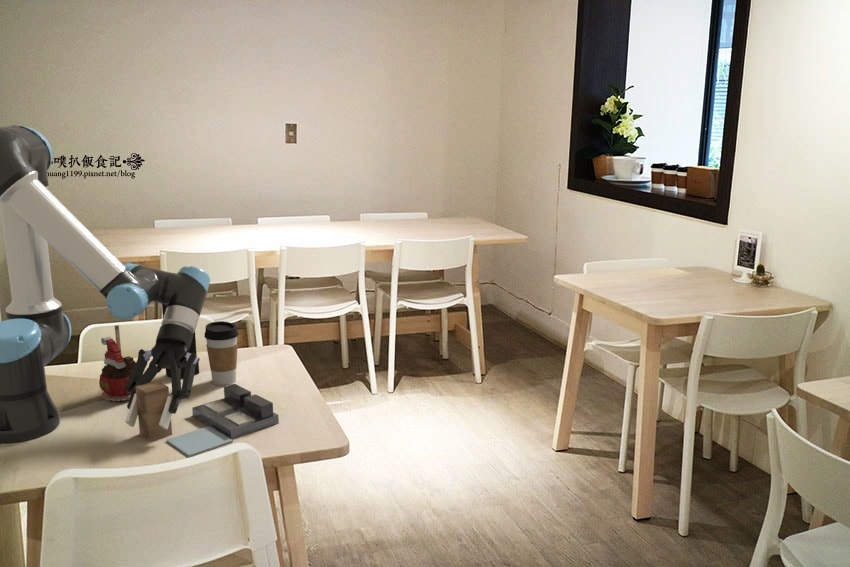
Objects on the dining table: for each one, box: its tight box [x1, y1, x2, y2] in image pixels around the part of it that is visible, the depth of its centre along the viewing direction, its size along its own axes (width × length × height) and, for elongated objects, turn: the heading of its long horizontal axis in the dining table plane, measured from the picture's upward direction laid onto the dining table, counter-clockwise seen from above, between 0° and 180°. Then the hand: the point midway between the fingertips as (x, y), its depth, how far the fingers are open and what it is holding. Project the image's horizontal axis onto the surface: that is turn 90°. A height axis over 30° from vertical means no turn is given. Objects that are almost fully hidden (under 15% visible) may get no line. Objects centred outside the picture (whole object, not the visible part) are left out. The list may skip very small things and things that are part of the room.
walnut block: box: [135, 380, 173, 442], centre depth 165 cm, size 5×5×11 cm
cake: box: [98, 324, 144, 402], centre depth 185 cm, size 11×9×18 cm
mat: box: [166, 425, 234, 458], centre depth 163 cm, size 10×10×1 cm
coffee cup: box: [204, 320, 239, 386], centre depth 195 cm, size 8×8×15 cm
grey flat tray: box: [191, 383, 280, 440], centre depth 174 cm, size 17×12×5 cm
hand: (146, 425), depth 162 cm, fingers closed on walnut block, 7 cm apart
